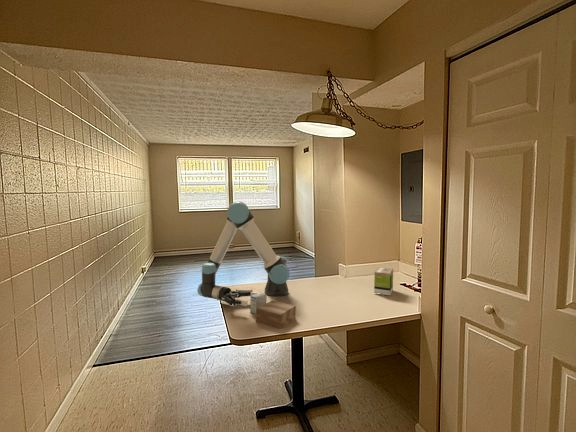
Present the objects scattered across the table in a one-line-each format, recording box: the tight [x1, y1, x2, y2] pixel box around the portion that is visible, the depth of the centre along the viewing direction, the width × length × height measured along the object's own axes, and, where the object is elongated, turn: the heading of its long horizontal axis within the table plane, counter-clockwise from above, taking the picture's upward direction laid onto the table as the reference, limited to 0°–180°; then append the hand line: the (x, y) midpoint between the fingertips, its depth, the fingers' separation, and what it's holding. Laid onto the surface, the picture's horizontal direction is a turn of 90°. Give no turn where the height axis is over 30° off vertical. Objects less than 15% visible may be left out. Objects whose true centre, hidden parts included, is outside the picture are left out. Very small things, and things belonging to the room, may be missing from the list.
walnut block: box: [255, 300, 297, 329], centre depth 153 cm, size 14×14×7 cm
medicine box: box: [249, 292, 268, 315], centre depth 165 cm, size 8×4×9 cm, turn 141°
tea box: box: [373, 267, 394, 296], centre depth 203 cm, size 15×10×15 cm, turn 154°
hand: (254, 299), depth 165 cm, fingers open, 13 cm apart
